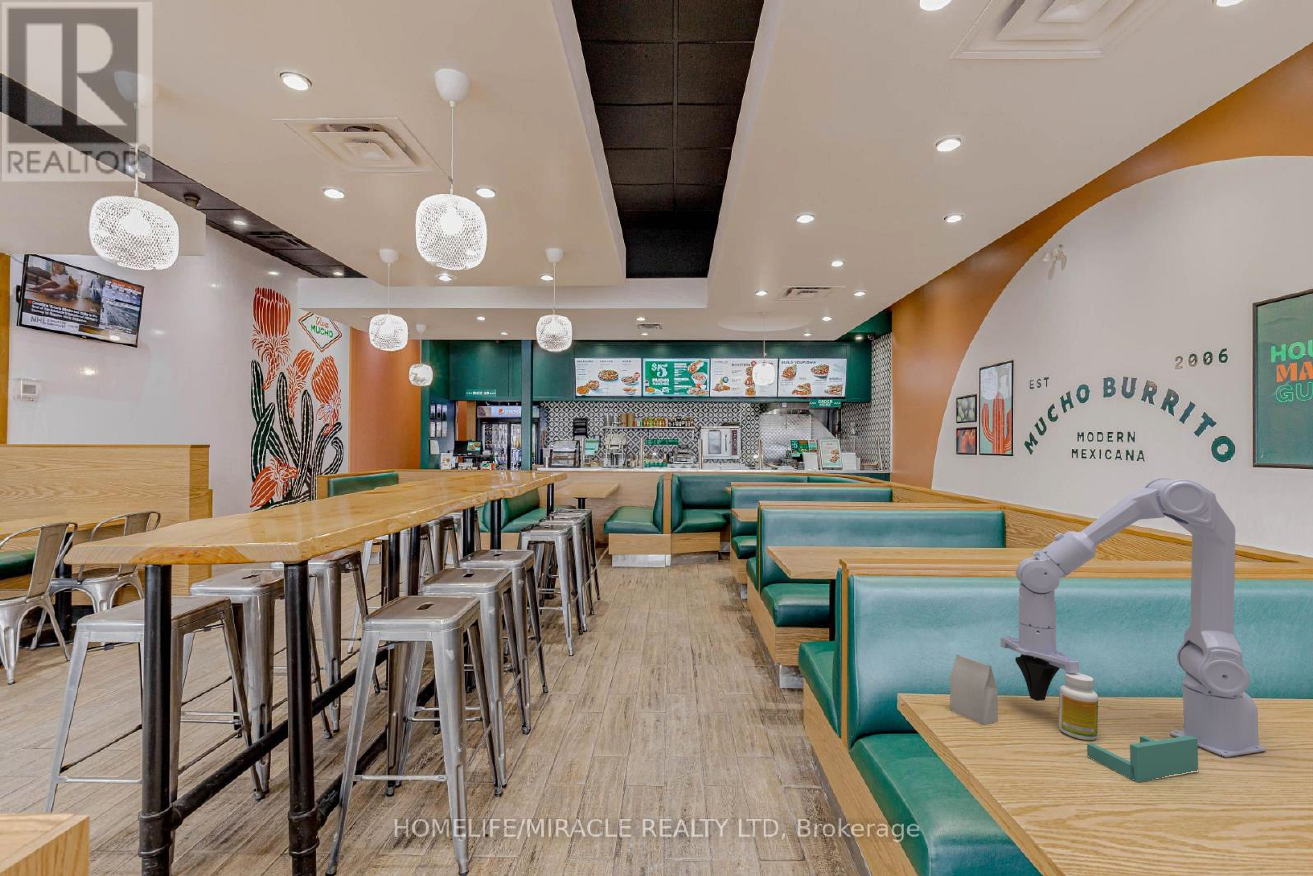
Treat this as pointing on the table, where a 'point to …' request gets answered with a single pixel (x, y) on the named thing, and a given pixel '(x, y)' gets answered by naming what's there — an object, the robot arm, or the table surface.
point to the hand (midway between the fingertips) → (1037, 699)
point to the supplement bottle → (1078, 707)
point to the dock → (1151, 758)
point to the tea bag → (973, 691)
